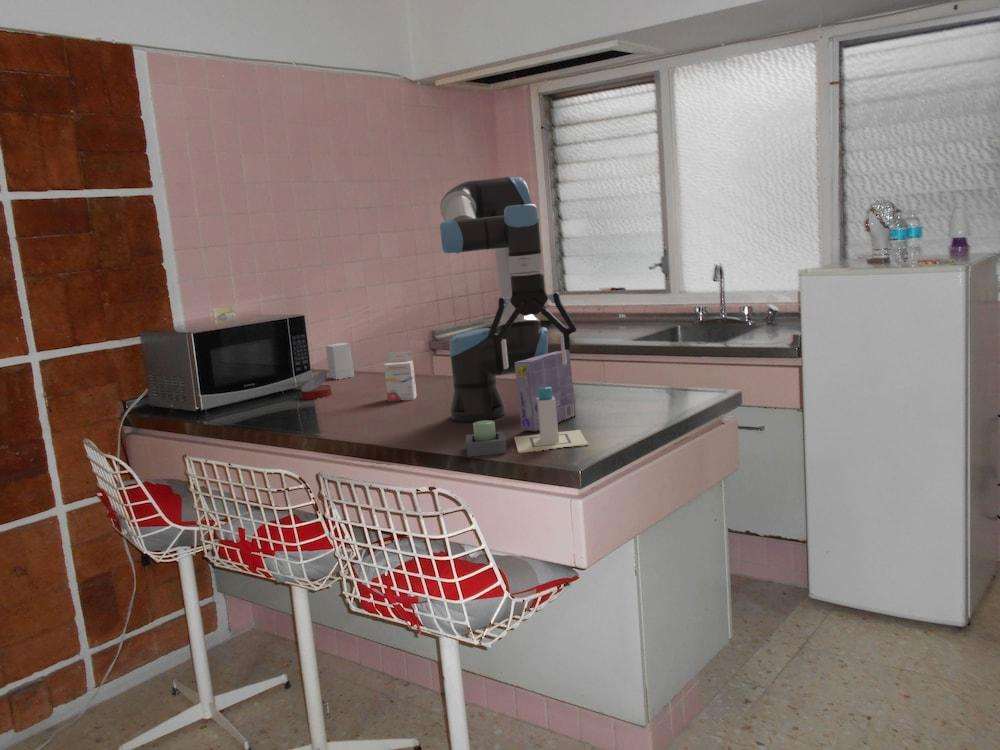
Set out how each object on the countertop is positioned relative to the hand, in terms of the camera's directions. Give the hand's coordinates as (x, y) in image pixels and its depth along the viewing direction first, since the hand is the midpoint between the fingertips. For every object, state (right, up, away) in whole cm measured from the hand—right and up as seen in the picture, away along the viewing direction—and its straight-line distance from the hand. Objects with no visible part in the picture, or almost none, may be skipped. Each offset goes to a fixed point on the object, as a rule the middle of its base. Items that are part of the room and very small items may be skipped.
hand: (535, 366), depth 206 cm
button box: (-11, -19, +2) cm, 23 cm away
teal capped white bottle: (+3, -17, +3) cm, 18 cm away
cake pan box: (+5, -15, +22) cm, 27 cm away
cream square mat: (+4, -18, +3) cm, 18 cm away
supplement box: (-67, -3, +128) cm, 145 cm away
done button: (-12, -18, +1) cm, 21 cm away
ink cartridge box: (-39, -10, +74) cm, 84 cm away
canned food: (-69, -10, +94) cm, 117 cm away
